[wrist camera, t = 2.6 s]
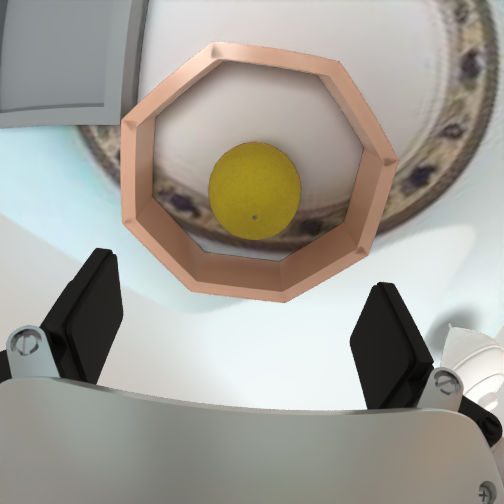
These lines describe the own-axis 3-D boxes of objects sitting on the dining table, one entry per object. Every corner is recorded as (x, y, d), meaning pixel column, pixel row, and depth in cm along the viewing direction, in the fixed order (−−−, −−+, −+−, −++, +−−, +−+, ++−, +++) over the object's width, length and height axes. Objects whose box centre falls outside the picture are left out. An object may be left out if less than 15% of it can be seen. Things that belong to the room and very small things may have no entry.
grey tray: (160, -59, 13) (147, -73, 11) (135, 117, 21) (119, 125, 18) (11, -25, 13) (-11, -28, 10) (-2, 122, 20) (-23, 130, 17)
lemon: (256, 218, 25) (256, 281, 18) (201, 171, 23) (176, 219, 16) (309, 168, 23) (332, 216, 16) (253, 115, 21) (251, 139, 14)
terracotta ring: (392, 81, 19) (417, 85, 16) (337, 278, 28) (347, 309, 24) (149, 43, 18) (127, 40, 14) (141, 253, 27) (127, 281, 23)
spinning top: (434, 354, 34) (467, 435, 24) (408, 329, 31) (445, 422, 21) (483, 317, 31) (526, 394, 21) (463, 285, 28) (517, 372, 18)
